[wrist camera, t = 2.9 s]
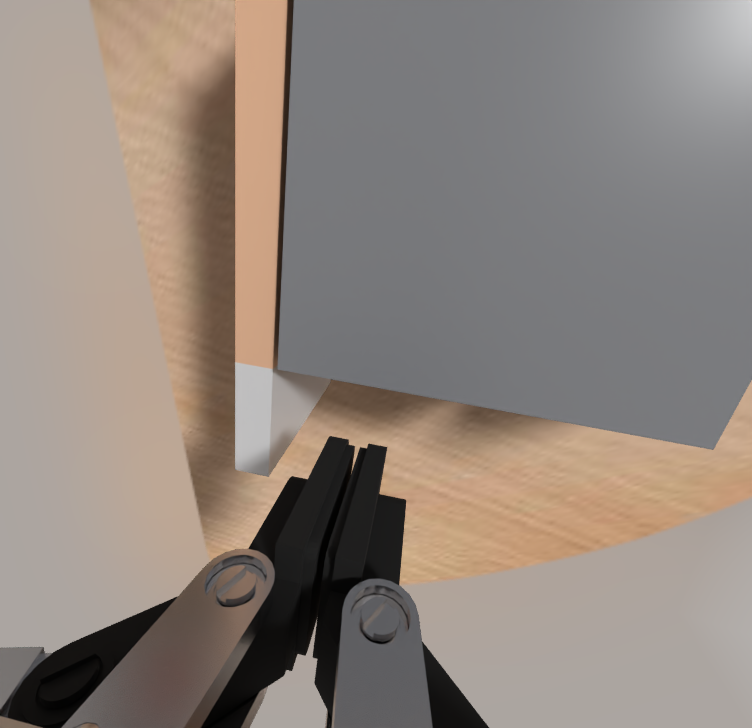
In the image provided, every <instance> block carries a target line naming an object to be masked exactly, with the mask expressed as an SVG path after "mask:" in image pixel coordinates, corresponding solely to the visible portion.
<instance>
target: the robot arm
mask: <svg viewBox="0 0 752 728" xmlns="http://www.w3.org/2000/svg"><path fill="white" fill-rule="evenodd" d="M354 450H355V446H352V445H349V440H348V439H342V438H337V437H332V436H330V437H329V438H328V440H327V442H326V444H325V446H324V448H323V450H322V452H321V454H320V456H319V458H318V460H317V462H316V464H315V466H314V468H313V470H312V472H311V474H310V476H309V478H308V479H303V478H298V477H294V476H292V477H290V479H289V480H288V481H287V483H286V485H285V487H284V488H283V490H282V492H281V494H280V495H279V497H278V499H277V500H276V502H275V504H274V506H273V507H272V509H271V511H270V512H269V514H268V516H267V518H266V519H265V521H264V523H263V525H262V526H261V528H260V530H259V531H258V533H257V535H256V537H255V538H254V540H253V542H252V543H251V545H250V547H249V549H235V550H232V551H228V552H225V553H223V554H221V555H219V556H217V557H216V558H214V559H213V560H212V561H210V562H209V563H208V564H207V565H206V566H205V567H204V568H203V569H202V570H201V571H200V572H199V574H198V575H197V576H196V577H195V578H194V579H193V580H192V582H191V583H190V584H189V585H188V586H187V587H186V588H185V589H184V590H183V592H182V593H181V594H180V595H179V596H178V597H175V598H173V599H171V600H169V601H166V602H164V603H162V604H159V605H157V606H155V607H152V608H150V609H148V610H145V611H143V612H141V613H139V614H137V615H134V616H132V617H129V618H127V619H125V620H123V621H120V622H118V623H116V624H113V625H111V626H109V627H106V628H104V629H102V630H99V631H97V632H95V633H93V634H90V635H88V636H86V637H83V638H81V639H79V640H76V641H74V642H72V643H70V644H68V645H66V646H64V647H62V648H61V649H59V650H57V651H55V652H53V653H45V652H44V647H16V648H0V728H250V725H251V724H252V722H253V719H254V718H255V716H256V714H257V711H258V710H259V708H260V706H261V704H262V701H263V699H264V696H265V694H266V691H267V688H268V686H269V685H270V684H272V683H274V682H275V681H277V680H278V679H280V678H281V677H283V676H284V674H285V671H286V670H290V671H292V669H293V666H294V663H295V660H296V657H297V654H301V655H306V653H307V650H308V647H309V644H310V640H311V637H312V634H313V630H314V627H315V623H316V620H317V627H316V635H315V642H314V651H313V658H317V659H318V660H317V668H316V676H315V685H316V687H317V689H318V691H319V693H320V696H321V698H322V700H323V702H324V703H325V706H326V708H327V714H326V724H325V728H489V727H488V726H487V724H486V723H485V722H484V721H483V719H482V718H481V717H480V716H479V714H478V713H477V712H476V710H475V709H474V708H473V706H472V705H471V704H470V703H469V701H468V700H467V699H466V697H465V696H464V695H463V693H462V692H461V691H460V690H459V688H458V687H457V686H456V685H455V683H454V682H453V681H452V679H451V678H450V677H449V675H448V674H447V673H446V672H445V670H444V669H443V668H442V666H441V665H440V664H439V663H438V661H437V660H436V659H435V657H434V656H433V655H432V653H431V652H430V651H429V650H428V648H427V647H426V646H425V645H424V643H423V642H422V638H421V630H420V622H419V615H418V612H417V608H416V605H415V603H414V601H413V600H412V598H411V596H410V595H409V594H408V593H407V592H406V591H405V590H404V589H403V588H402V587H401V586H399V580H400V568H401V556H402V544H403V533H404V521H405V509H406V500H405V499H400V498H395V497H390V496H385V495H381V494H379V492H380V486H381V480H382V474H383V469H384V463H385V457H386V451H387V447H383V446H378V445H373V444H368V447H367V448H362V447H360V449H359V453H358V456H357V459H356V462H355V465H354V468H353V471H352V465H353V458H354ZM351 472H352V474H351ZM317 617H318V618H317Z"/></svg>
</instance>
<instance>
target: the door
mask: <svg viewBox="0 0 752 728" xmlns="http://www.w3.org/2000/svg"><path fill="white" fill-rule="evenodd" d="M293 9H294V0H235V470H239V471H244V472H248V473H253V474H258V475H263V476H267V477H269V475H270V474H271V472H272V471H273V469H274V468H275V466H276V465H277V463H278V462H279V460H280V459H281V457H282V456H283V454H284V452H285V451H286V449H287V448H288V446H289V445H290V443H291V442H292V440H293V439H294V437H295V436H296V434H297V433H298V431H299V430H300V428H301V427H302V425H303V424H304V422H305V421H306V419H307V418H308V416H309V414H310V413H311V411H312V410H313V408H314V407H315V405H316V404H317V402H318V401H319V399H320V398H321V396H322V395H323V393H324V392H325V390H326V389H327V387H328V386H329V384H330V383H331V379H327V378H321V377H316V376H310V375H305V374H299V373H294V372H289V371H283V370H278V369H277V368H278V346H279V324H280V301H281V279H282V256H283V234H284V211H285V189H286V166H287V144H288V121H289V99H290V76H291V54H292V31H293Z"/></svg>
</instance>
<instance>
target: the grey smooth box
mask: <svg viewBox="0 0 752 728" xmlns="http://www.w3.org/2000/svg"><path fill="white" fill-rule="evenodd" d="M277 369H278V370H283V371H289V372H294V373H299V374H305V375H310V376H316V377H321V378H327V379H332V380H337V381H343V382H348V383H354V384H359V385H365V386H370V387H375V388H381V389H386V390H392V391H397V392H402V393H408V394H413V395H419V396H424V397H430V398H435V399H440V400H446V401H451V402H457V403H462V404H468V405H473V406H478V407H484V408H489V409H495V410H500V411H506V412H511V413H516V414H522V415H527V416H533V417H538V418H544V419H549V420H554V421H560V422H565V423H571V424H576V425H582V426H587V427H592V428H598V429H603V430H609V431H614V432H619V433H625V434H630V435H636V436H641V437H647V438H652V439H657V440H663V441H668V442H674V443H679V444H685V445H690V446H695V447H701V448H706V449H712V450H713V449H714V448H715V446H716V444H717V442H718V440H719V439H720V437H721V435H722V433H723V431H724V429H725V428H726V426H727V424H728V422H729V420H730V418H731V417H732V415H733V413H734V411H735V409H736V407H737V406H738V404H739V402H740V400H741V398H742V396H743V395H744V393H745V391H746V389H747V387H748V386H749V384H750V382H751V380H752V0H294V9H293V31H292V54H291V76H290V99H289V121H288V144H287V166H286V189H285V211H284V234H283V256H282V279H281V301H280V324H279V346H278V368H277Z"/></svg>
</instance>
